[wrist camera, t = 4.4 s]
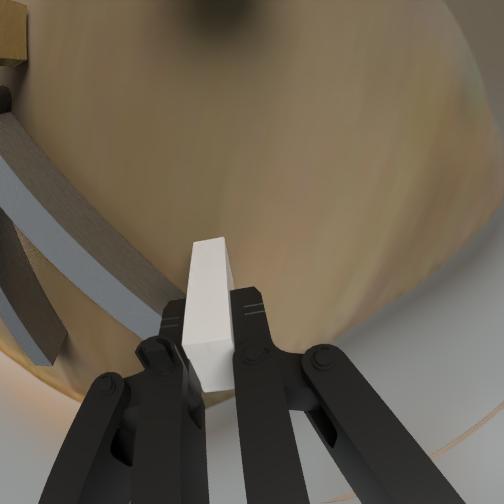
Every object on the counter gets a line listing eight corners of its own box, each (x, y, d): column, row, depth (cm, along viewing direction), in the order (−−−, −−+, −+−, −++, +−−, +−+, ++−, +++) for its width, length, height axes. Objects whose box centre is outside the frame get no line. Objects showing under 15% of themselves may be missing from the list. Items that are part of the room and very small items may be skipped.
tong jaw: (-5, 139, 10) (-39, 152, 7) (10, 112, 9) (-25, 120, 7) (164, 312, 16) (157, 349, 14) (187, 296, 16) (183, 333, 13)
